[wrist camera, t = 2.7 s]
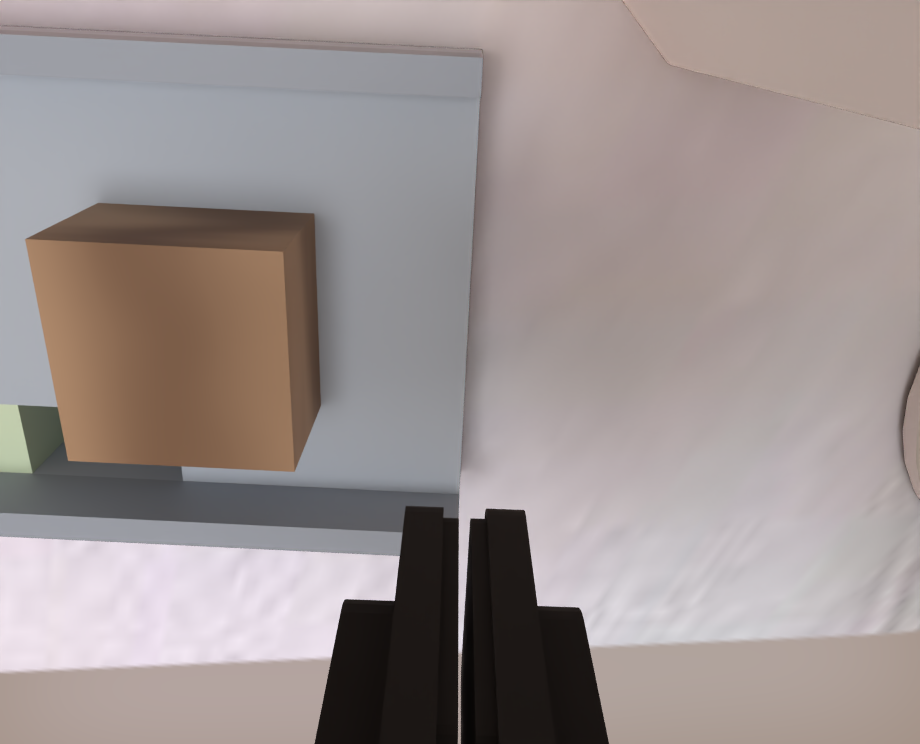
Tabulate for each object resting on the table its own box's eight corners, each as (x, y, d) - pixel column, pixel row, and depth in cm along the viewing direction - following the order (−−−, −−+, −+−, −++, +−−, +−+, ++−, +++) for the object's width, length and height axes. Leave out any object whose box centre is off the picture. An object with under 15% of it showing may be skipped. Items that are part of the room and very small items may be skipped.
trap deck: (481, 49, 20) (482, 57, 16) (459, 472, 26) (456, 558, 22) (-377, 7, 20) (-593, 4, 16) (-218, 439, 26) (-349, 519, 22)
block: (314, 213, 20) (283, 251, 17) (321, 406, 22) (294, 472, 19) (98, 202, 20) (25, 238, 16) (127, 396, 22) (68, 460, 19)
